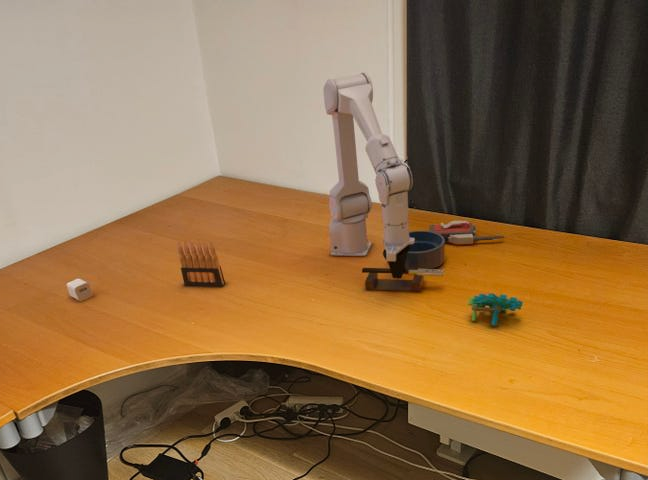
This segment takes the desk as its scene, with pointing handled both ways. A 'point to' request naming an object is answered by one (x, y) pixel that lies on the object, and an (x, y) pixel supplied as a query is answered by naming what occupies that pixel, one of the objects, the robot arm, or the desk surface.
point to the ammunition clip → (200, 266)
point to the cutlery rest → (393, 284)
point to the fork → (406, 271)
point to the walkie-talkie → (459, 232)
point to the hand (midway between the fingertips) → (398, 275)
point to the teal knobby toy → (493, 305)
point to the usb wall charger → (79, 289)
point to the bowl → (425, 250)
